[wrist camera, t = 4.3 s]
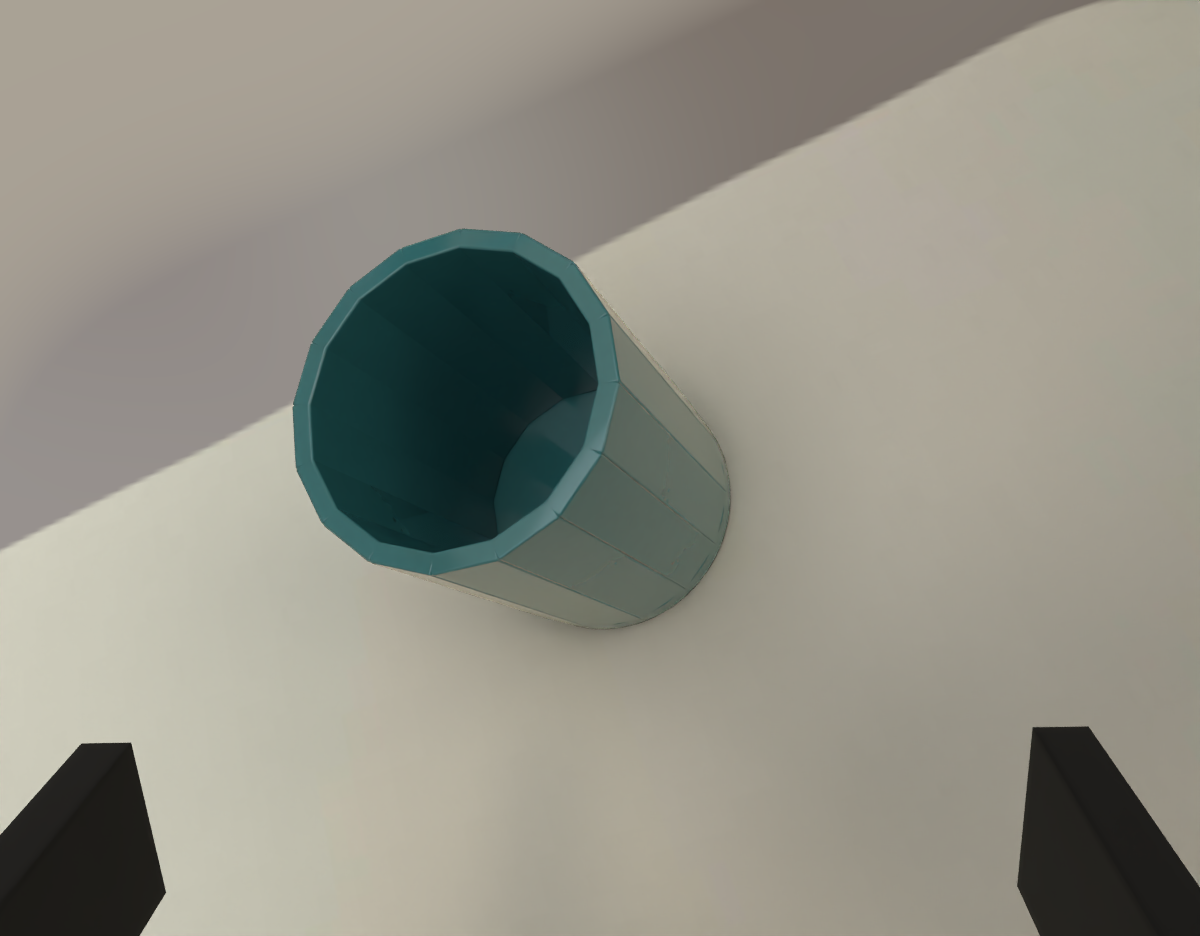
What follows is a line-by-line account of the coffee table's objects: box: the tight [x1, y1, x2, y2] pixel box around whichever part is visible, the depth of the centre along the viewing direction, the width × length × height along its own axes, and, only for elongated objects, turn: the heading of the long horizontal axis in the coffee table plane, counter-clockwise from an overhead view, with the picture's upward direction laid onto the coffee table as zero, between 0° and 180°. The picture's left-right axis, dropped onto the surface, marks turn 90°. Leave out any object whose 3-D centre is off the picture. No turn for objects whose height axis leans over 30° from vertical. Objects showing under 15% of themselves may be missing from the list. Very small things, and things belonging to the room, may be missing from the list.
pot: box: [293, 229, 730, 629], centre depth 28 cm, size 8×8×11 cm
